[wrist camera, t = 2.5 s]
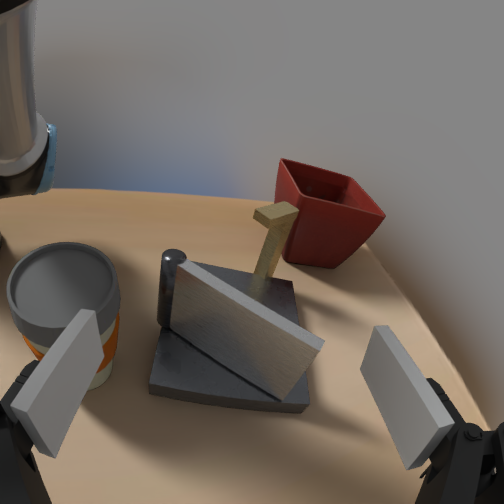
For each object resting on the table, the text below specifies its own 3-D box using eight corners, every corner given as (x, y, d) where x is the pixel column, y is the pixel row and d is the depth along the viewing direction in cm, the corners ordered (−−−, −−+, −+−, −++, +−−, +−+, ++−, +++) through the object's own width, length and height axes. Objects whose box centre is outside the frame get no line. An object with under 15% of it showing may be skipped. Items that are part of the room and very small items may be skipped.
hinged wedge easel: (152, 319, 39) (156, 255, 33) (165, 308, 41) (173, 245, 35) (280, 404, 34) (317, 355, 28) (289, 388, 36) (326, 337, 30)
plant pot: (327, 232, 80) (352, 176, 71) (353, 280, 65) (388, 216, 56) (259, 219, 76) (279, 156, 66) (272, 270, 61) (300, 195, 51)
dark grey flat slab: (149, 393, 34) (148, 383, 32) (178, 271, 53) (179, 258, 51) (301, 413, 37) (309, 404, 35) (286, 293, 56) (292, 281, 55)
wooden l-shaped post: (229, 292, 53) (255, 208, 43) (257, 278, 58) (285, 200, 48) (242, 303, 51) (271, 219, 42) (269, 287, 56) (300, 210, 47)
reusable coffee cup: (83, 311, 40) (72, 227, 32) (144, 361, 37) (145, 280, 29) (22, 358, 30) (-14, 276, 22) (82, 422, 27) (47, 356, 19)
